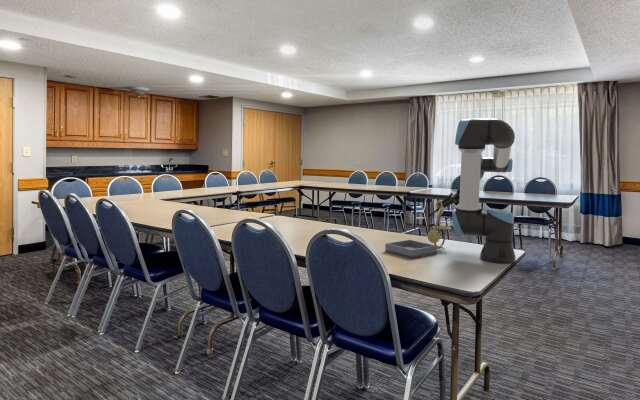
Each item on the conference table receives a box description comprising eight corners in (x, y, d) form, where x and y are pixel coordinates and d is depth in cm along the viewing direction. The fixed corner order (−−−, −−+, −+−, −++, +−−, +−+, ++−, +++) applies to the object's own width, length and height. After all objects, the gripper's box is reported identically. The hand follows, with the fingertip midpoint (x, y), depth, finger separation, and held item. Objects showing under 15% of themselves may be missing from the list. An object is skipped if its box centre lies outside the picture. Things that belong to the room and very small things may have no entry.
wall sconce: (441, 251, 213) (443, 201, 210) (424, 248, 219) (426, 200, 217) (453, 247, 223) (455, 200, 221) (436, 244, 229) (438, 198, 227)
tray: (436, 253, 208) (437, 245, 208) (412, 258, 198) (412, 250, 197) (409, 247, 222) (409, 239, 222) (385, 251, 212) (385, 243, 211)
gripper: (489, 195, 223) (471, 226, 216) (450, 191, 243) (431, 219, 236) (484, 185, 220) (465, 216, 213) (444, 182, 240) (426, 210, 233)
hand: (447, 218), depth 224 cm, fingers open, 13 cm apart
